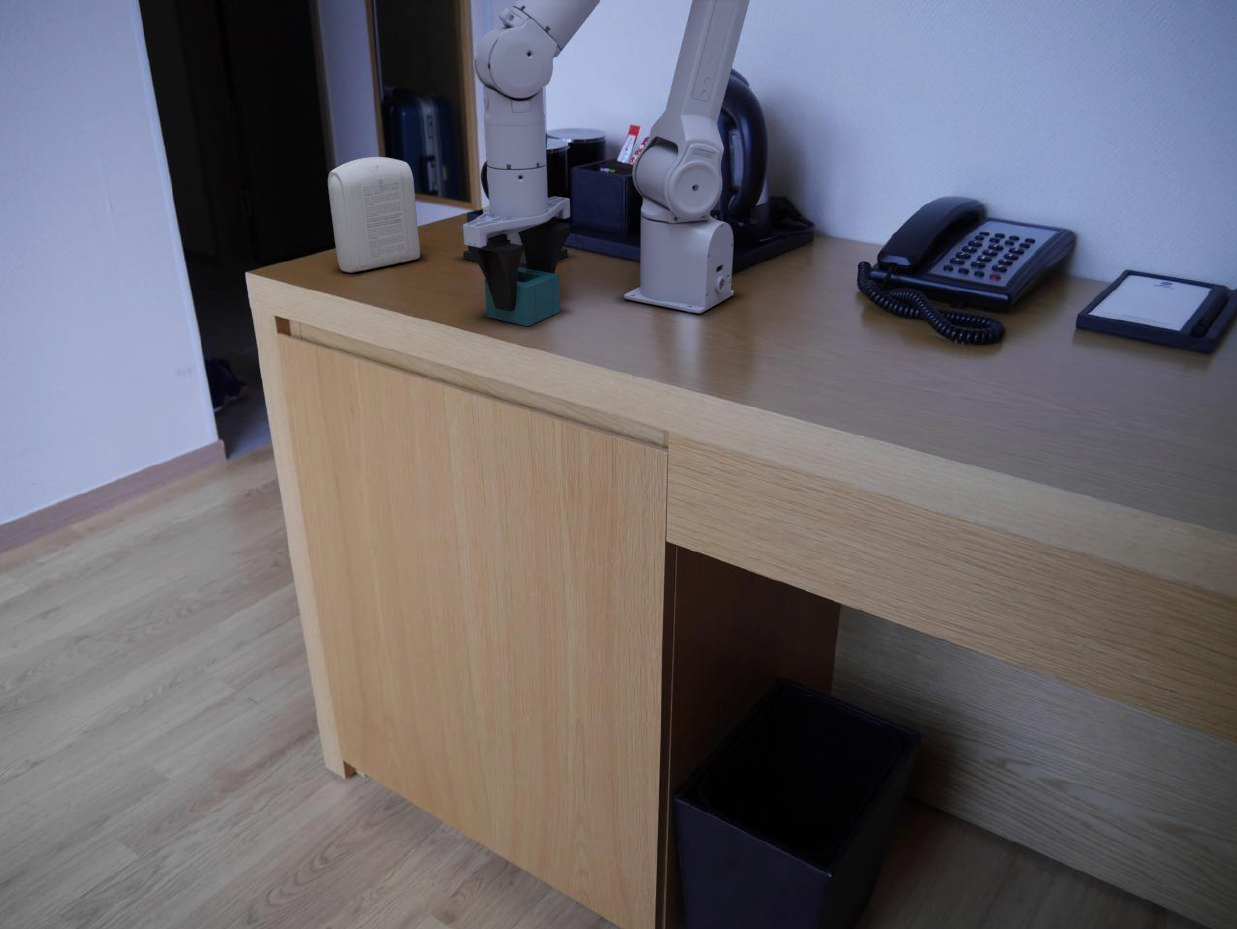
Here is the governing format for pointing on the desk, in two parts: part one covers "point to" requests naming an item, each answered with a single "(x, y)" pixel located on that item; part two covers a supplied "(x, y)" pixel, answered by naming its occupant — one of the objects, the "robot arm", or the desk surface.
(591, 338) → the desk surface
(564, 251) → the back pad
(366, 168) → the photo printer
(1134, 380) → the desk surface
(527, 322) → the teal block with hole
